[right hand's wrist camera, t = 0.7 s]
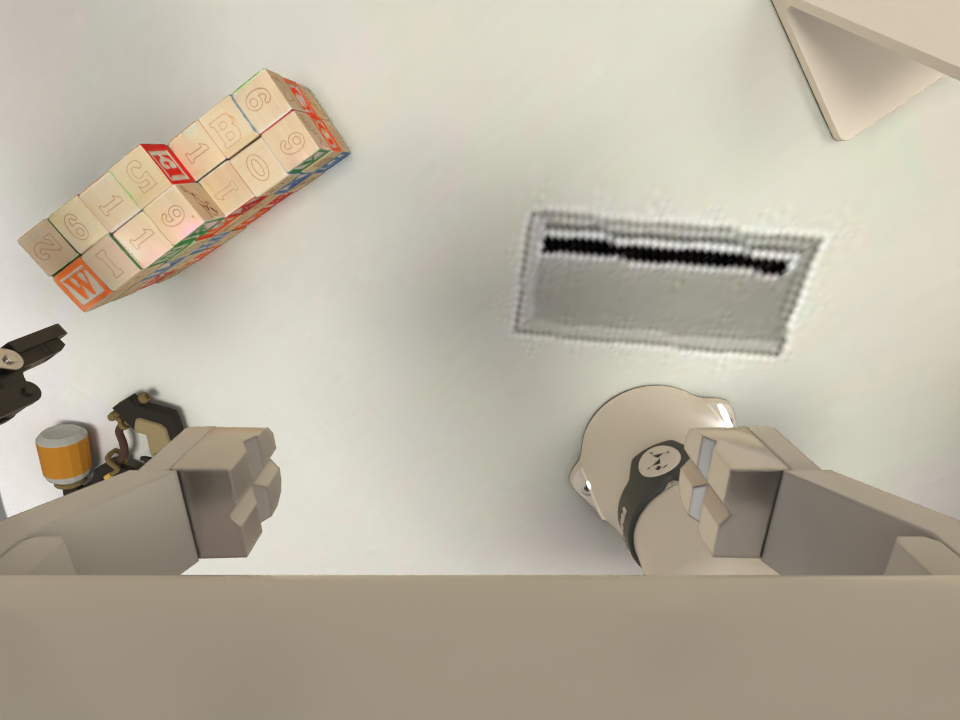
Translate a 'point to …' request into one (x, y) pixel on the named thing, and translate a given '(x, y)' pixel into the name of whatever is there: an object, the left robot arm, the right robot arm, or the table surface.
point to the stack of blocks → (186, 192)
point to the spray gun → (71, 457)
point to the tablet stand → (871, 53)
